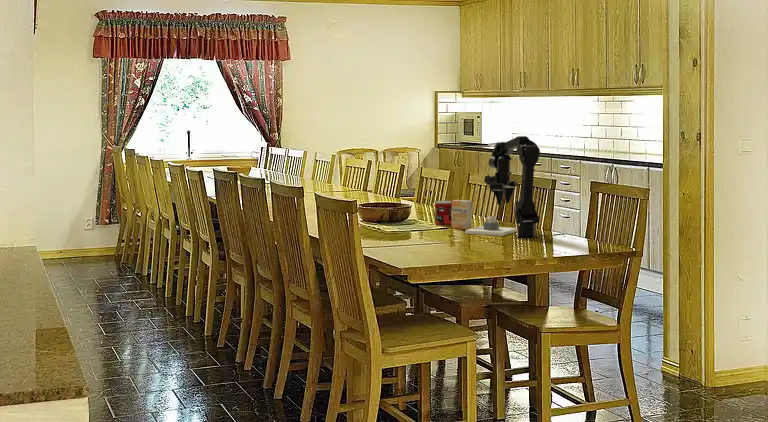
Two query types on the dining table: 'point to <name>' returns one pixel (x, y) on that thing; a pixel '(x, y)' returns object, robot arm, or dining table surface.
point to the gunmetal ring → (491, 226)
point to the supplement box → (461, 214)
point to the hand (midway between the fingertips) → (503, 204)
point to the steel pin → (491, 219)
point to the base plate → (491, 231)
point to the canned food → (443, 212)
